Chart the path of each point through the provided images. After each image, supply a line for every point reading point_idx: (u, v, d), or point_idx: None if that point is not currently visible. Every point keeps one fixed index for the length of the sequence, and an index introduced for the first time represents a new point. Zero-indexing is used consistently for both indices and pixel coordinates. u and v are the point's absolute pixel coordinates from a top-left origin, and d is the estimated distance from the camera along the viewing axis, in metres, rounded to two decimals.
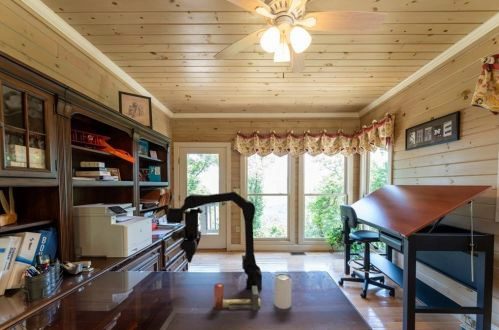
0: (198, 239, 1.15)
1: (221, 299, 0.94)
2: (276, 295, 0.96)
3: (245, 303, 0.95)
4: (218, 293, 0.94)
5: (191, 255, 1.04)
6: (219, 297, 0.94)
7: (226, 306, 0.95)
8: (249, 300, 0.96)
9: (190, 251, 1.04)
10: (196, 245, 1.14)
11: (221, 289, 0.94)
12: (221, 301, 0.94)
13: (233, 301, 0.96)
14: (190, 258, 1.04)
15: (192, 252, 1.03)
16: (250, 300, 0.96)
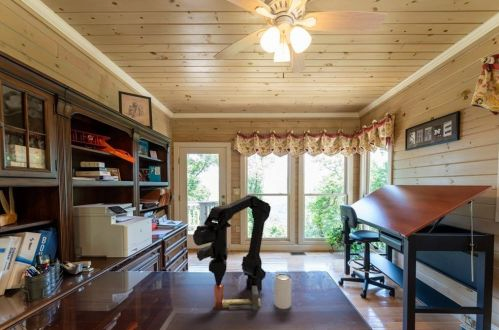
0: (225, 257, 1.01)
1: (221, 299, 0.94)
2: (276, 295, 0.96)
3: (245, 303, 0.95)
4: (218, 293, 0.94)
5: (220, 278, 0.90)
6: (219, 297, 0.94)
7: (226, 306, 0.95)
8: (249, 300, 0.96)
9: (219, 273, 0.90)
10: None
11: (221, 289, 0.94)
12: (221, 301, 0.94)
13: (233, 301, 0.96)
14: (219, 281, 0.91)
15: (222, 274, 0.90)
16: (250, 300, 0.96)
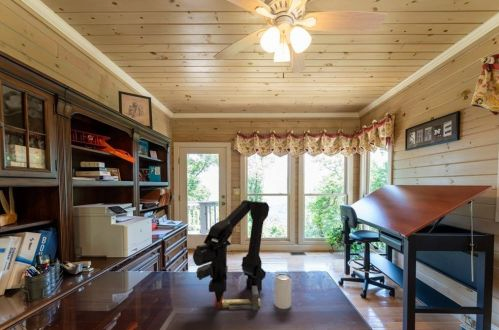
0: (225, 277, 0.98)
1: (221, 299, 0.94)
2: (276, 295, 0.96)
3: (245, 303, 0.95)
4: None
5: (221, 294, 0.93)
6: None
7: (226, 306, 0.95)
8: (249, 300, 0.96)
9: None
10: None
11: None
12: (221, 301, 0.94)
13: (233, 301, 0.96)
14: (219, 297, 0.93)
15: None
16: (250, 300, 0.96)
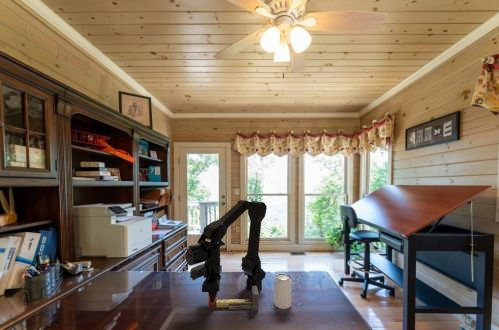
0: (219, 278, 0.98)
1: (215, 299, 0.94)
2: (276, 295, 0.96)
3: (239, 303, 0.95)
4: None
5: (214, 294, 0.92)
6: None
7: (219, 306, 0.95)
8: (243, 300, 0.96)
9: None
10: None
11: None
12: (215, 301, 0.94)
13: (227, 301, 0.95)
14: (213, 297, 0.93)
15: None
16: (244, 300, 0.96)
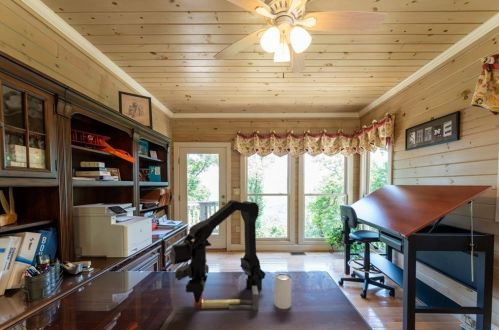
0: (205, 278, 0.98)
1: (200, 300, 0.94)
2: (276, 295, 0.96)
3: (224, 304, 0.95)
4: None
5: (199, 294, 0.92)
6: None
7: (205, 307, 0.94)
8: (229, 301, 0.96)
9: None
10: None
11: None
12: (200, 302, 0.94)
13: (212, 302, 0.95)
14: (198, 298, 0.92)
15: (200, 291, 0.92)
16: (230, 301, 0.96)
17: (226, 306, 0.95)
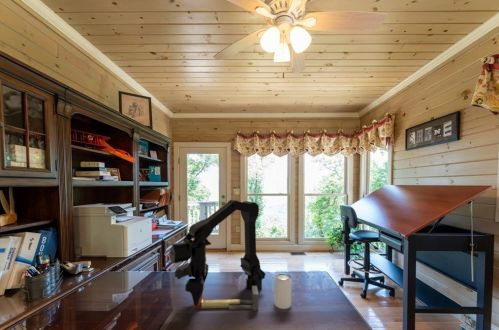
0: (205, 274, 1.01)
1: (200, 300, 0.94)
2: (276, 295, 0.96)
3: (224, 304, 0.95)
4: None
5: (198, 297, 0.89)
6: None
7: (205, 307, 0.94)
8: (228, 301, 0.96)
9: (197, 292, 0.89)
10: None
11: None
12: (200, 302, 0.94)
13: (212, 302, 0.95)
14: (197, 300, 0.90)
15: (199, 294, 0.89)
16: (229, 301, 0.96)
17: (226, 306, 0.95)
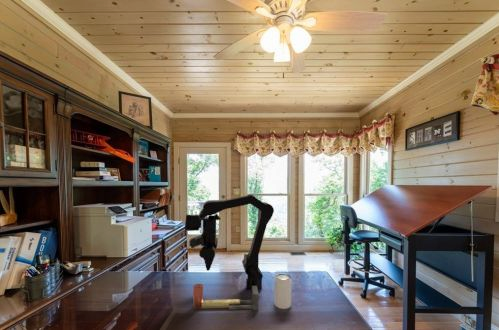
0: (215, 246, 1.13)
1: (200, 300, 0.94)
2: (276, 295, 0.96)
3: (224, 304, 0.95)
4: (197, 294, 0.93)
5: (210, 263, 1.02)
6: (198, 298, 0.93)
7: (205, 307, 0.94)
8: (228, 301, 0.96)
9: (209, 259, 1.02)
10: None
11: (200, 289, 0.94)
12: (200, 302, 0.94)
13: (212, 302, 0.95)
14: (209, 266, 1.03)
15: (211, 260, 1.02)
16: (229, 301, 0.96)
17: (226, 306, 0.95)
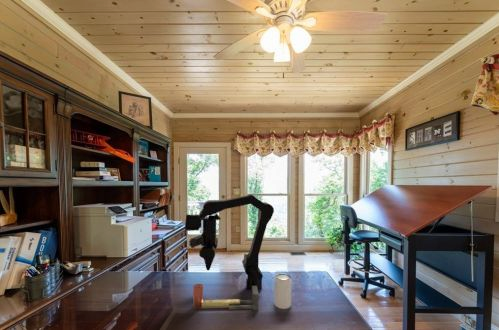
0: (215, 246, 1.13)
1: (200, 300, 0.94)
2: (276, 295, 0.96)
3: (224, 304, 0.95)
4: (197, 294, 0.93)
5: (210, 263, 1.02)
6: (198, 298, 0.93)
7: (205, 307, 0.94)
8: (228, 301, 0.96)
9: (209, 258, 1.02)
10: None
11: (200, 289, 0.94)
12: (200, 302, 0.94)
13: (212, 302, 0.95)
14: (209, 266, 1.03)
15: (211, 260, 1.02)
16: (229, 301, 0.96)
17: (226, 306, 0.95)
